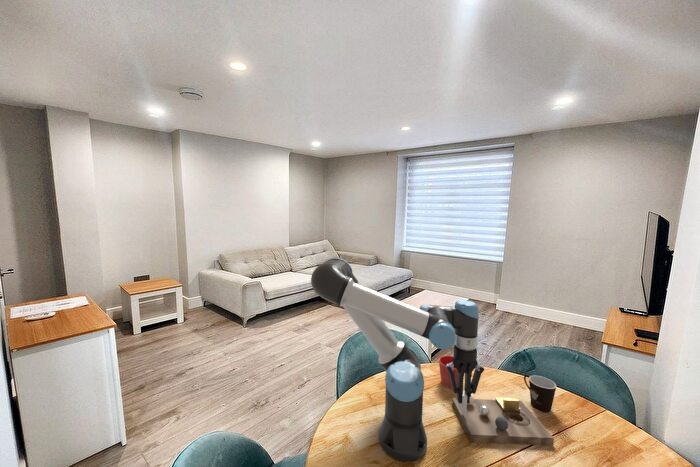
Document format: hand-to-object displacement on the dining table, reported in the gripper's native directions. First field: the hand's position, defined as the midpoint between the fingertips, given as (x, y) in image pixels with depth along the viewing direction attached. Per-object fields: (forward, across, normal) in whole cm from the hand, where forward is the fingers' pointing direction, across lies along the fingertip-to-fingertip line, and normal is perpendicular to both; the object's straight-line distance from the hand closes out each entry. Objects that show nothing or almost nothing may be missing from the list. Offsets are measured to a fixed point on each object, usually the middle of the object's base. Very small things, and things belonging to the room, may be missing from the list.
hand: (462, 411), depth 99 cm
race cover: (+1, +18, +6) cm, 19 cm away
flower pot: (+4, +3, +23) cm, 24 cm away
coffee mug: (+4, +33, +11) cm, 35 cm away
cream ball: (0, +4, +6) cm, 8 cm away
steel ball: (0, +7, 0) cm, 7 cm away
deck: (+4, +12, 0) cm, 13 cm away
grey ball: (0, +10, -6) cm, 12 cm away
